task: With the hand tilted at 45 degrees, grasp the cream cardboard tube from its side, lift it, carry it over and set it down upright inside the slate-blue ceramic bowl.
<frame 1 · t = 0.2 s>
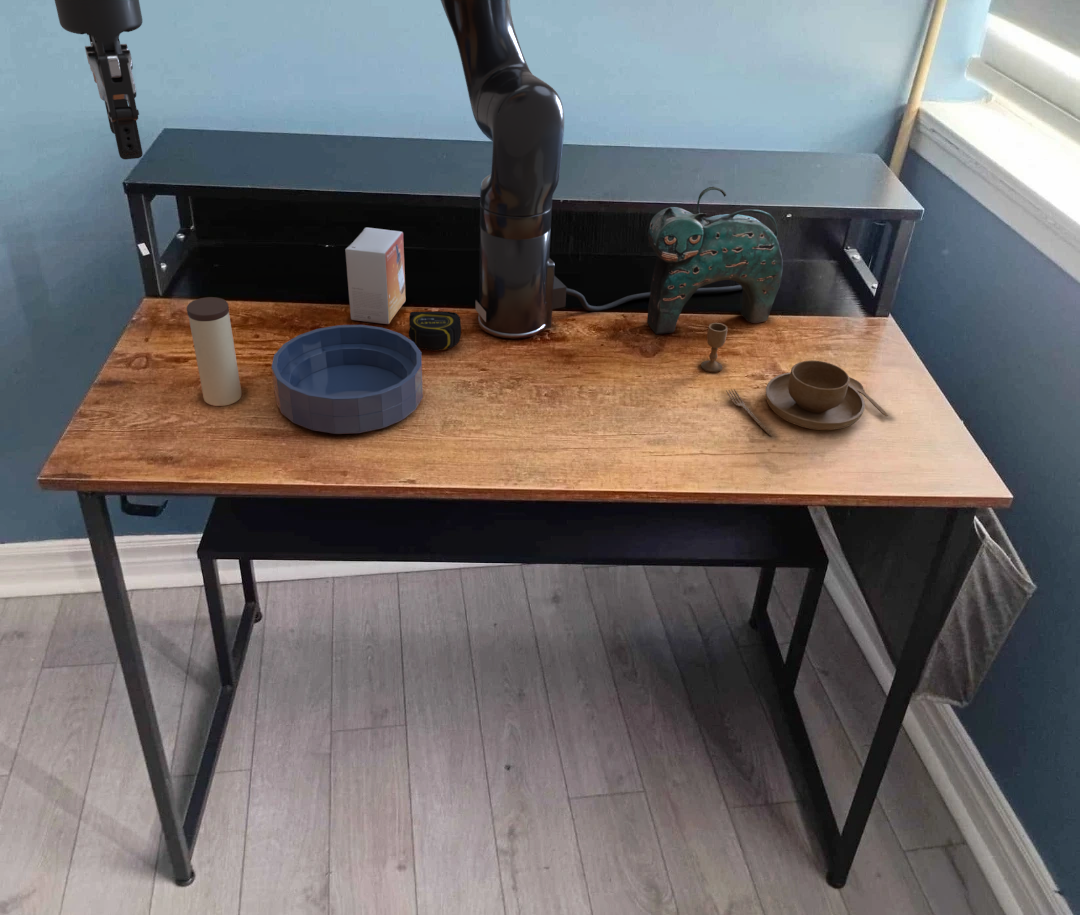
hand: (126, 144, 102), 29 cm above the table, tool pointing down, fingers open, 8 cm apart
ceramic cat: (703, 323, 138), on the table
bowl: (350, 399, 118), on the table
small box: (379, 311, 137), on the table
tube: (222, 396, 117), on the table
tape measure: (432, 342, 130), on the table
place setting: (791, 393, 124), on the table
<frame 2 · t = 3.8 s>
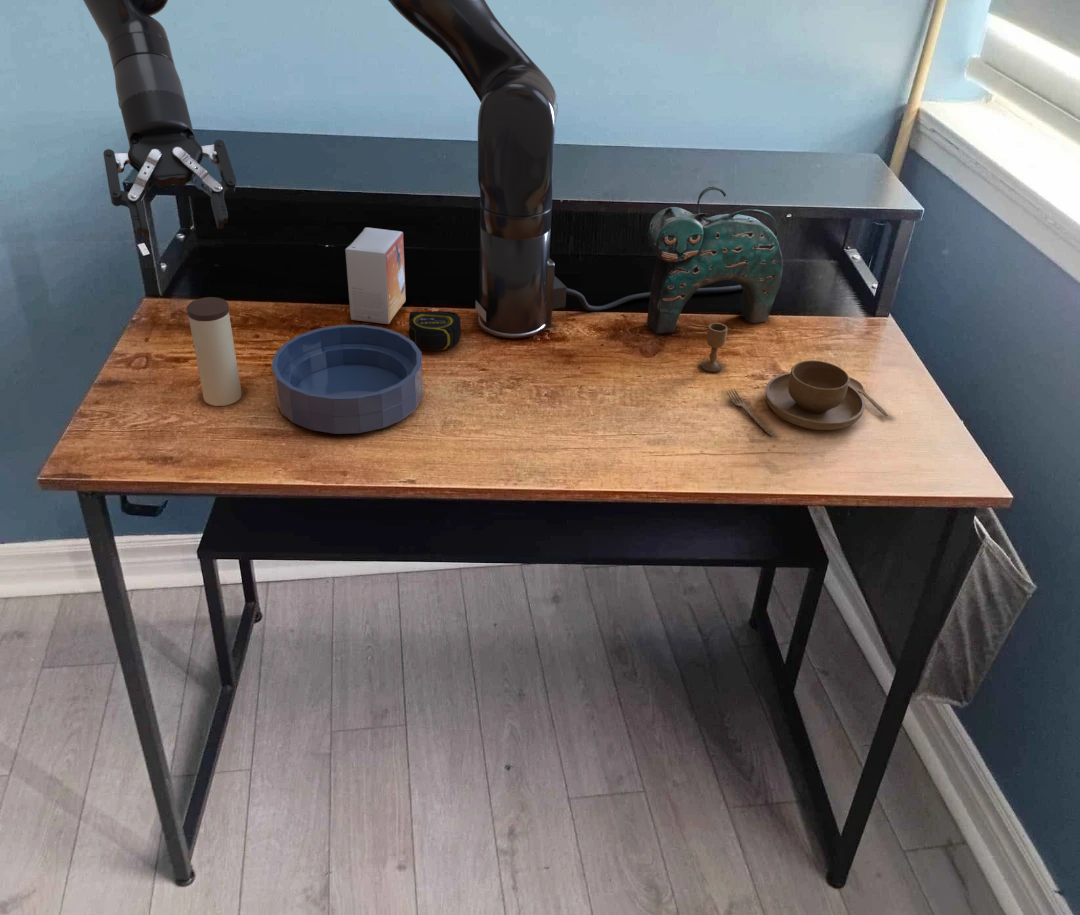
hand: (184, 230, 116), 16 cm above the table, tool tilted 45°, fingers open, 8 cm apart
nothing on the table moved.
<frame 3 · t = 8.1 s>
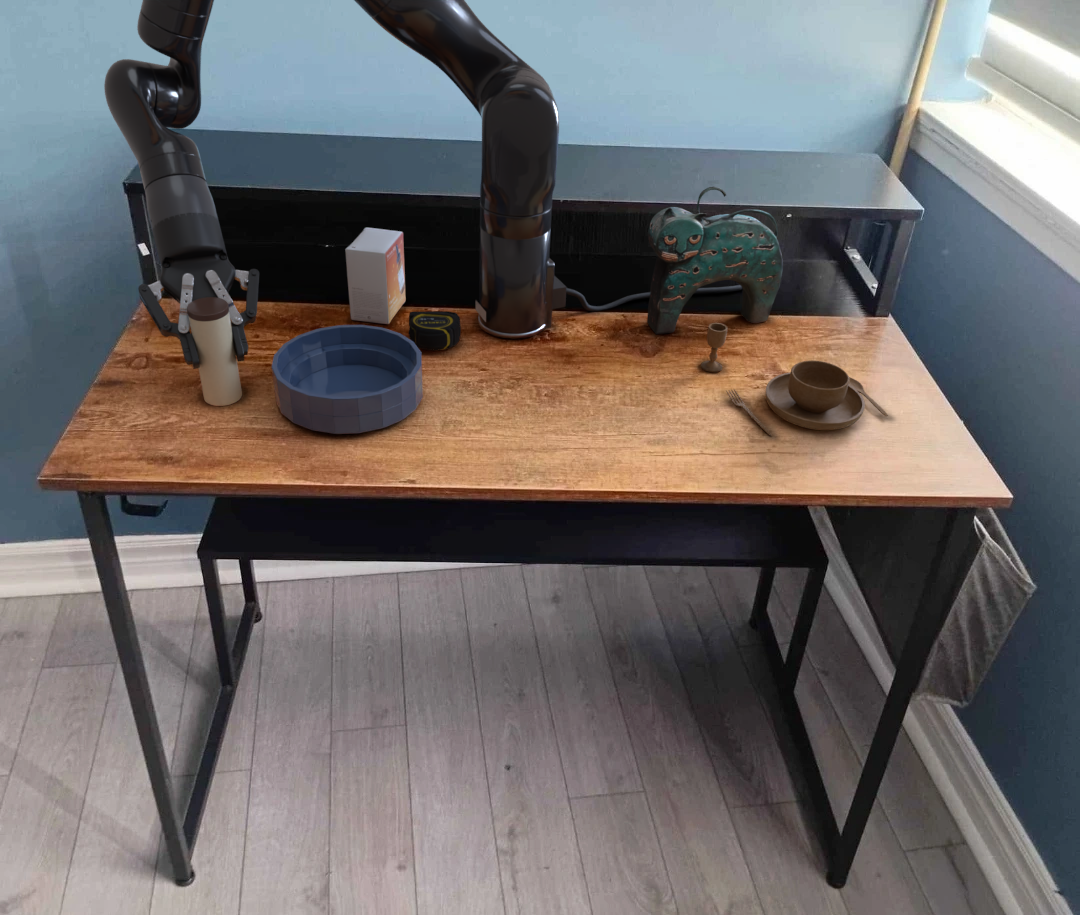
hand: (219, 362, 112), 6 cm above the table, tool tilted 45°, fingers closed on tube, 4 cm apart
tube: (223, 396, 117), on the table, touching gripper
everything else where it was.
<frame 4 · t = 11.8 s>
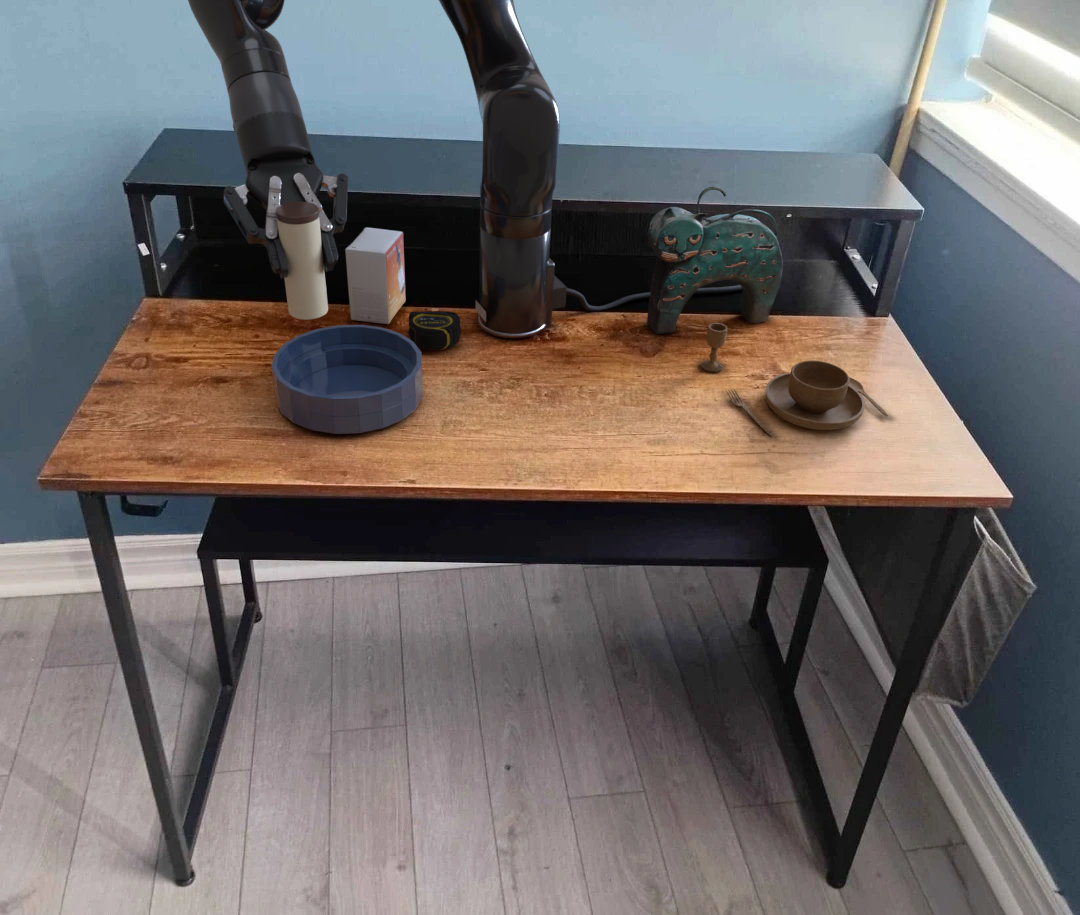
hand: (307, 271, 106), 17 cm above the table, tool tilted 45°, fingers closed on tube, 4 cm apart
tube: (308, 310, 111), point 12 cm above the table, touching gripper
everything else where it was.
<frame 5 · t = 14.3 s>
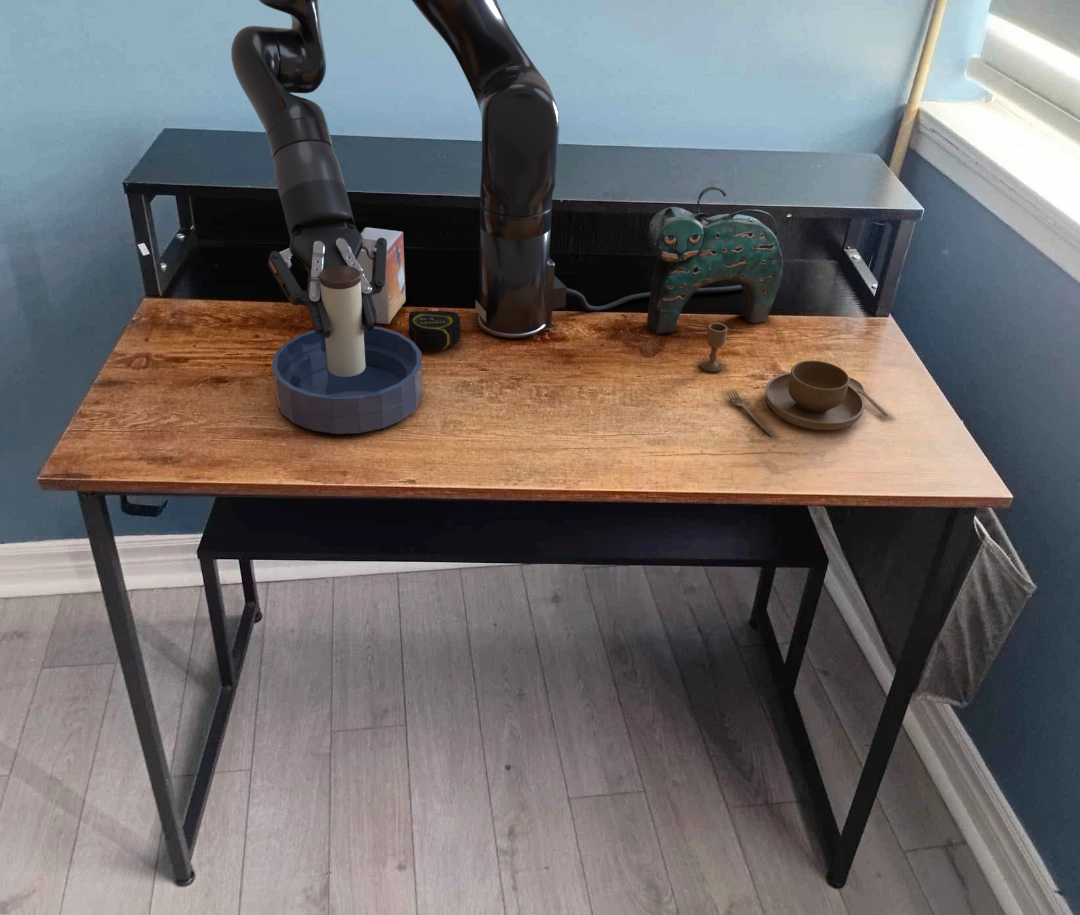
hand: (348, 332, 111), 10 cm above the table, tool tilted 45°, fingers closed on tube, 4 cm apart
tube: (346, 367, 115), point 4 cm above the table, touching gripper
everything else where it was.
when the fingers open (6 cm above the table, at t = 15.8 s): tube stays where it is, resting on bowl.
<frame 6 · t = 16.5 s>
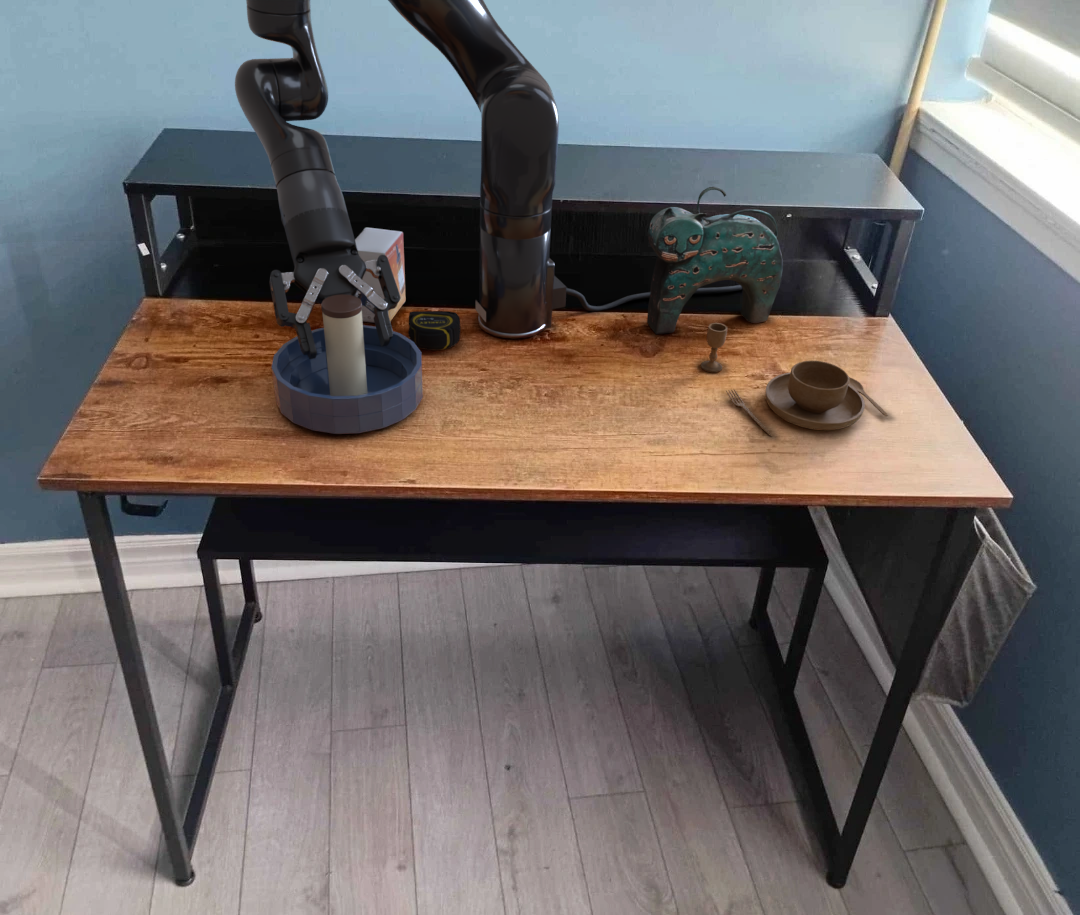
hand: (350, 350, 113), 7 cm above the table, tool tilted 45°, fingers open, 8 cm apart
tube: (348, 393, 117), point 1 cm above the table, touching bowl
everything else where it was.
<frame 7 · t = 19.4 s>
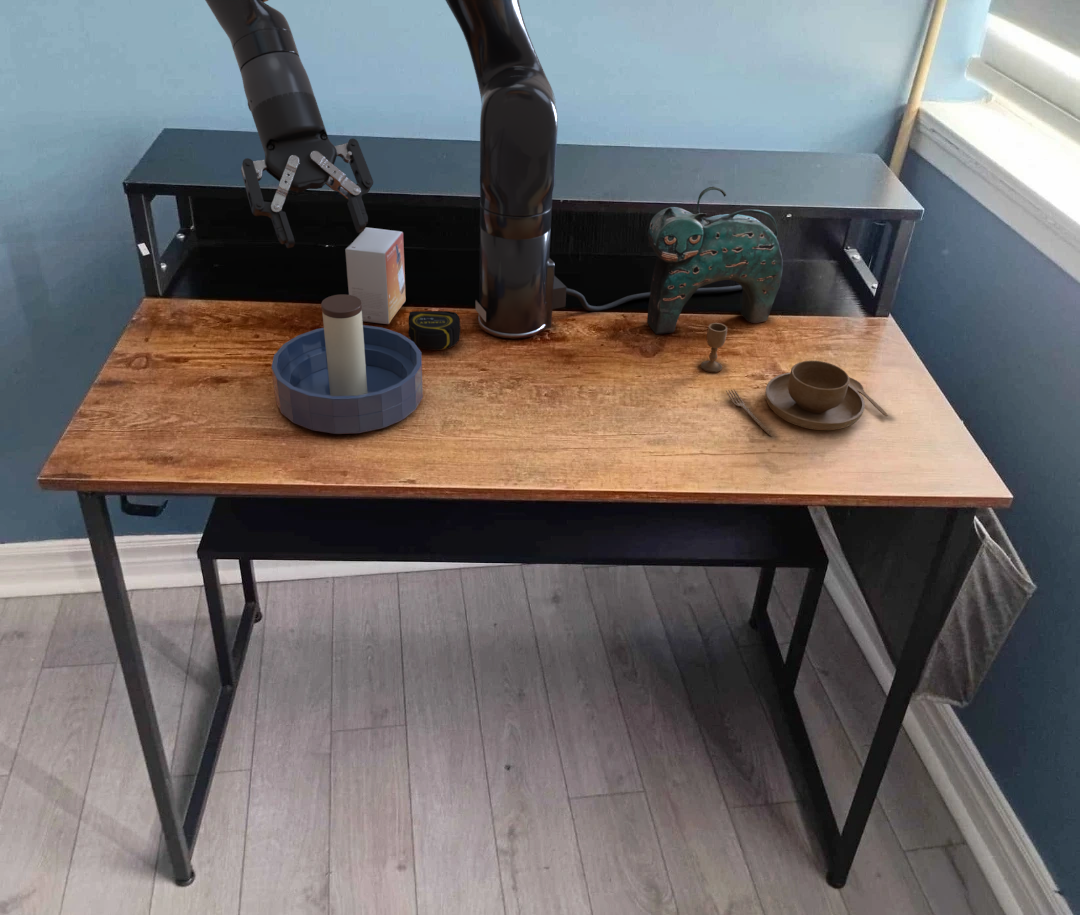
hand: (326, 238, 114), 17 cm above the table, tool tilted 40°, fingers open, 8 cm apart
nothing on the table moved.
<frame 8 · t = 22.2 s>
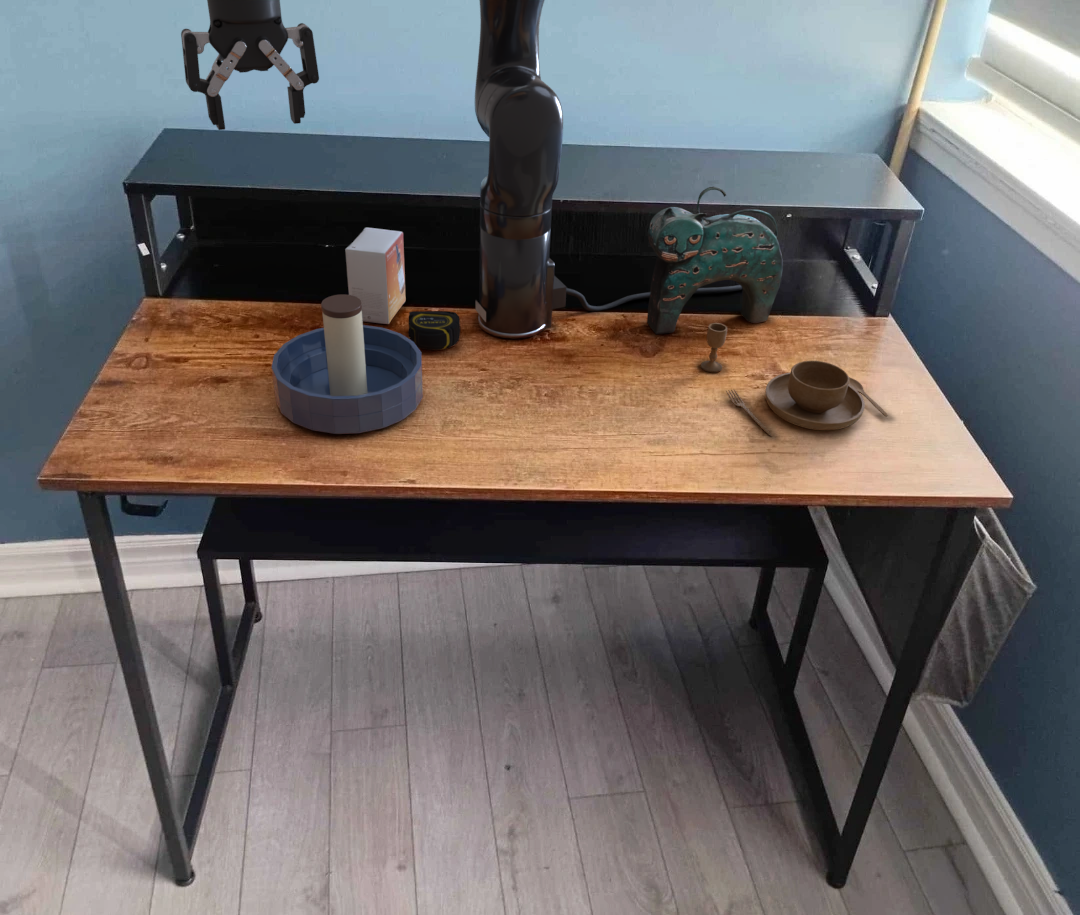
hand: (259, 124, 112), 28 cm above the table, tool pointing down, fingers open, 8 cm apart
nothing on the table moved.
at the end: tube inside the target area in the bowl (0.2 cm from its centre), point 0.8 cm above the bowl's base; tube tilted 0°; the gripper is holding nothing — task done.
